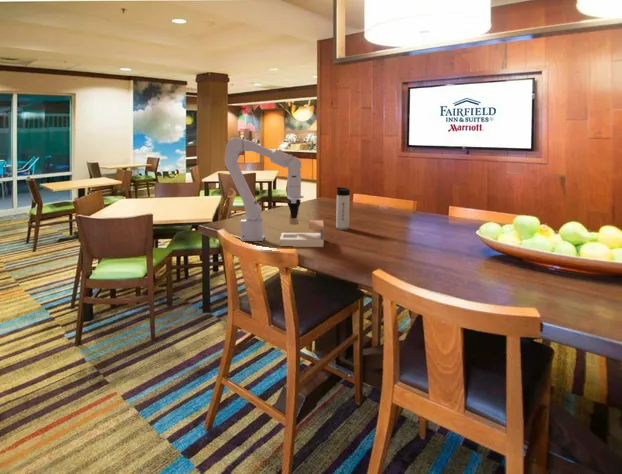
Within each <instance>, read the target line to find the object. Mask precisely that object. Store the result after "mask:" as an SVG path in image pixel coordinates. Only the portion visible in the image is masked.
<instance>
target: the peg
mask: <svg viewBox="0 0 622 474" xmlns="http://www.w3.org/2000/svg"><path fill="white" fill-rule="evenodd" d="M299 224H300V207H299V208H298V213H297V218H291V213H290V212H289V225H291V226H292V225H293V226H296V225H299Z"/></svg>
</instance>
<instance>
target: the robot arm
mask: <svg viewBox="0 0 622 474" xmlns="http://www.w3.org/2000/svg"><path fill="white" fill-rule="evenodd" d="M224 151H225V154H224V165H225V167H226V169H227V171H228V173H229V176H230V177H231V179H232V181H233V184H234V186H235V187H236V190H237V192H238V194H239V196H240V198H241V201H242V204H243V207H244V211H245V212H244V214H245V216H246V217H245V218H244V219H241V220H240V227H239V228H240V241H241V240H242V242H263V241H264V238H265V235H264V234H263V217H262V216H261V214H262V212H263V208H262V206H261V204H260V203H259V202H258V201H257V199H256V198H255V196H254V195H253V194H252V191H251V188H250V187H249V185H248V182H247V181H246V179H245V176H244V174H243V172H242V170H241V168H240V166H239V164H238V160H239V158H240V155H241V154H242V153H243V152H253V153H256V154H259V155H261V156H264V157H266V158H268V159H269V161H270V162H271V163H273V164H274V165H277V166H280V167H282V168H287V178H286V179H287V182H286V183H287V187H286V189H287V196H286V199H288V200H287V203H286V204H287V206H288V207H289V214H290V213H291V218H297V213H298V208H299V209H300V206H301V201H302V200H301V199H304V195H301V193H302V189H301V188H302V175H301V168H302V163H301V162H302V161H301V159H299V158H298V157H297V156H293V154H288V153H286V152H283V149H280V148H279V149H277V148H276V149H273V150H271V149H269V148H267V147H265V146H263V145H260V144H258V143H257V142H254V141H251V140H249V139H243V138H242V137H237V136H236V137H232V138H230V139H229V140H228V141H227V143H226V145H225V150H224Z"/></svg>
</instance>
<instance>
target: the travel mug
mask: <svg viewBox="0 0 622 474" xmlns="http://www.w3.org/2000/svg"><path fill="white" fill-rule="evenodd" d="M350 192H351V190H350V188H346V187H340V186H338V187H336V206H335V209H336V210H335V211H336V213H335V216H336V217H335V220H336V221H335V230H338V231H339V230H340V231H347V230H349V229H350V201H351V200H350V199H351V196H350V195H351V194H350Z"/></svg>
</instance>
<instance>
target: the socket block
mask: <svg viewBox="0 0 622 474" xmlns="http://www.w3.org/2000/svg"><path fill="white" fill-rule="evenodd" d="M324 227H325V226H324V220H321V219H319V220H318V219H317V220H311V219H309V222H308V230H319V232H281V233H280V237H279V247H280V246H293V248H294V247H295V248H296V247H299V248H301V247H306V248H307V247H308V248H310V247H311V248H314V247H315V248H324V229H325V228H324Z"/></svg>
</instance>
